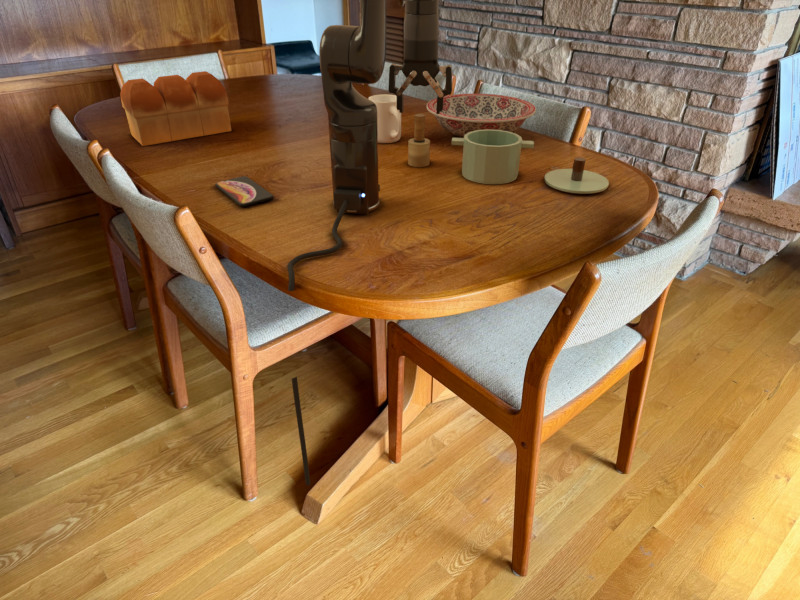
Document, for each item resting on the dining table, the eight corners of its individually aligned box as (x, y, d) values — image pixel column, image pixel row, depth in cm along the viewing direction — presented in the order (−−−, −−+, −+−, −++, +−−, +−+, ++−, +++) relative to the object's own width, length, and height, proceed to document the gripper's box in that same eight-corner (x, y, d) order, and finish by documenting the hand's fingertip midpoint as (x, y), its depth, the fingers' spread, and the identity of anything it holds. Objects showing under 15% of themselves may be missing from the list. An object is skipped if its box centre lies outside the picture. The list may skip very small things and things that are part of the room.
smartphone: (241, 204, 114) (213, 182, 124) (241, 208, 114) (214, 186, 124) (275, 195, 117) (245, 174, 128) (275, 199, 118) (246, 178, 128)
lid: (613, 198, 120) (619, 171, 117) (546, 194, 121) (550, 168, 118) (602, 175, 131) (607, 150, 128) (541, 172, 133) (544, 147, 130)
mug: (385, 149, 147) (384, 106, 141) (363, 137, 155) (362, 96, 149) (413, 144, 150) (414, 102, 144) (391, 132, 159) (390, 92, 153)
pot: (531, 186, 125) (536, 148, 121) (448, 182, 127) (450, 144, 123) (527, 166, 136) (532, 131, 131) (451, 163, 138) (453, 127, 133)
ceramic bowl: (410, 126, 164) (410, 98, 160) (499, 117, 173) (501, 90, 168) (453, 157, 141) (454, 125, 137) (553, 145, 150) (558, 114, 145)
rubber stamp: (428, 167, 135) (430, 118, 129) (406, 166, 136) (407, 117, 129) (430, 160, 139) (431, 112, 133) (409, 159, 140) (409, 111, 134)
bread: (141, 146, 148) (126, 87, 140) (129, 134, 156) (115, 78, 148) (233, 130, 160) (224, 75, 152) (217, 120, 169) (208, 67, 161)
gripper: (385, 38, 120) (387, 116, 129) (453, 39, 118) (449, 118, 127) (390, 32, 126) (391, 107, 135) (455, 34, 125) (451, 109, 133)
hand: (419, 112), depth 131 cm, fingers open, 8 cm apart
